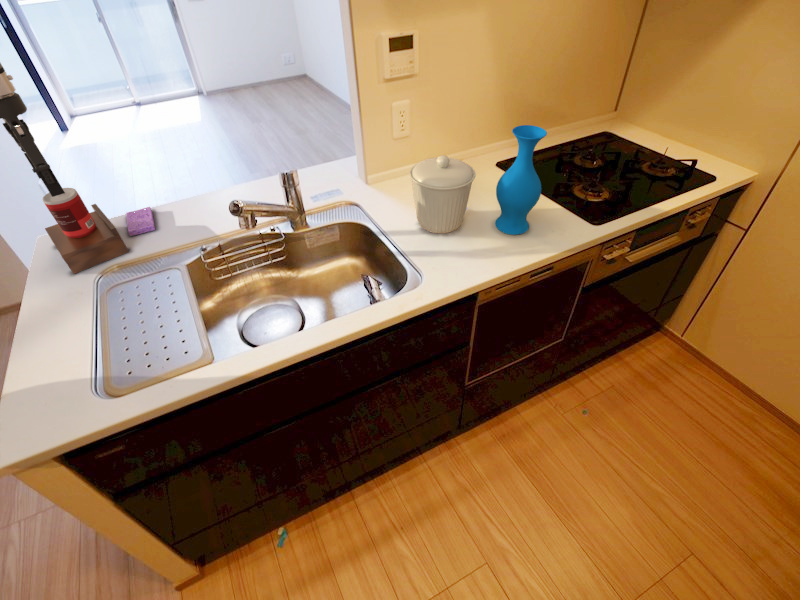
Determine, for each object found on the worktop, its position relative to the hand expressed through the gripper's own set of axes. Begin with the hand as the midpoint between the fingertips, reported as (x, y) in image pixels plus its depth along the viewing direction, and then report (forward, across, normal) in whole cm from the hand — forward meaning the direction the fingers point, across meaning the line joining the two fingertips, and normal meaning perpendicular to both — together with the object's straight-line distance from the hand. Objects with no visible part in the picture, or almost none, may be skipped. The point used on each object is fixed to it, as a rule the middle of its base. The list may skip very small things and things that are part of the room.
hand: (51, 185), depth 107 cm
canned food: (+14, 0, 0) cm, 14 cm away
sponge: (+20, +4, -15) cm, 25 cm away
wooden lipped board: (+20, 0, 0) cm, 20 cm away
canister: (+19, -61, -80) cm, 102 cm away
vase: (+19, -77, -94) cm, 123 cm away
